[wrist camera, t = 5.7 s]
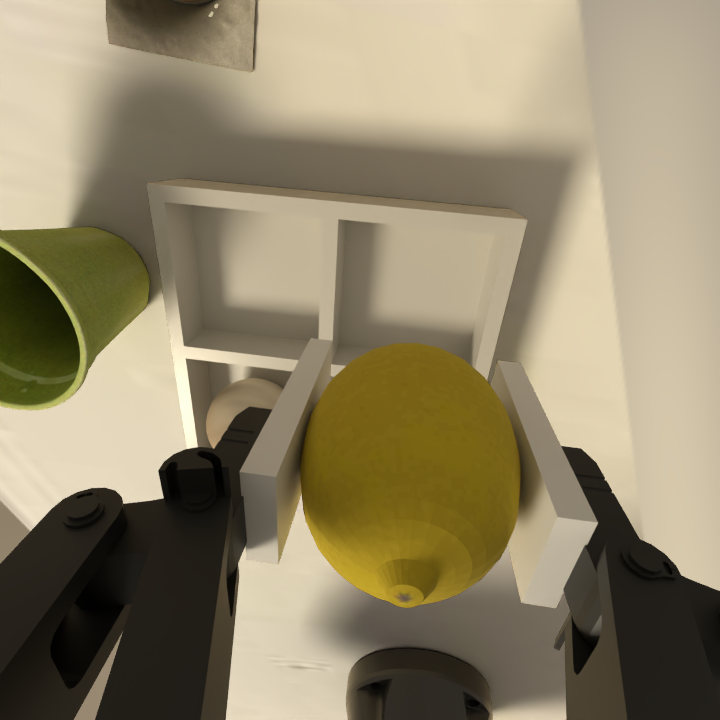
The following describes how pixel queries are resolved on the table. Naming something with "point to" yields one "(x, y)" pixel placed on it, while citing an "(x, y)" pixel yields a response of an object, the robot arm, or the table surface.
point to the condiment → (186, 29)
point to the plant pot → (61, 308)
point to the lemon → (410, 474)
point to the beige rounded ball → (239, 404)
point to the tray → (320, 280)
